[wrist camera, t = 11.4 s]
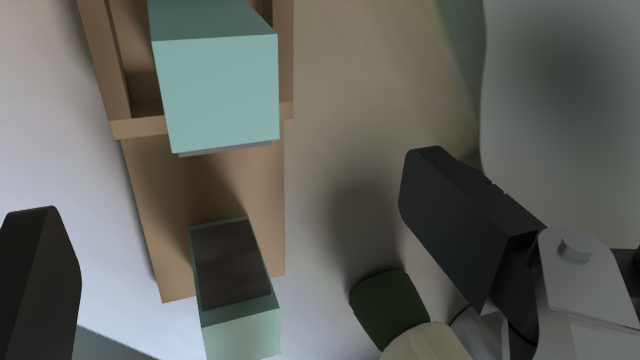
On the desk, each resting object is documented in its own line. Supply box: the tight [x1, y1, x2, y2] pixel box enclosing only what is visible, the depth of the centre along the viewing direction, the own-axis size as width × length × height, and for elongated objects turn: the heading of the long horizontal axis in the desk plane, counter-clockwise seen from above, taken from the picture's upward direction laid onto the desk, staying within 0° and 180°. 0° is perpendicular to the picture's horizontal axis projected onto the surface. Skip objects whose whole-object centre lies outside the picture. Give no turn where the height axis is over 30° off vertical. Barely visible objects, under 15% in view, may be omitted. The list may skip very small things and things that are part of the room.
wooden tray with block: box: [76, 0, 293, 360], centre depth 22 cm, size 9×23×10 cm, turn 178°
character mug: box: [349, 270, 473, 360], centre depth 35 cm, size 11×7×13 cm, turn 18°
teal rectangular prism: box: [147, 0, 280, 158], centre depth 18 cm, size 4×4×8 cm
